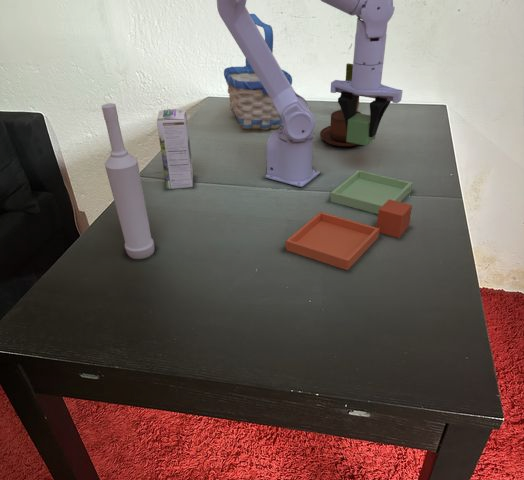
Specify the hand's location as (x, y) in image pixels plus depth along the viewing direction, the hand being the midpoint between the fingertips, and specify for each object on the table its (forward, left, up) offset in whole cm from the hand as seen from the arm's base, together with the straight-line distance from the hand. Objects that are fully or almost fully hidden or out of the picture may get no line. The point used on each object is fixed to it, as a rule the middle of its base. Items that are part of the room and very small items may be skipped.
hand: (361, 133), depth 109 cm
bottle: (-19, -49, -9) cm, 53 cm away
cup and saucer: (-11, +14, -9) cm, 20 cm away
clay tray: (+9, -29, -8) cm, 32 cm away
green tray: (+7, -9, -8) cm, 14 cm away
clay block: (+16, -19, -8) cm, 26 cm away
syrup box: (-31, -24, -9) cm, 40 cm away
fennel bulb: (-19, +32, -9) cm, 38 cm away
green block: (0, 0, -1) cm, 1 cm away
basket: (-37, +15, -9) cm, 41 cm away
